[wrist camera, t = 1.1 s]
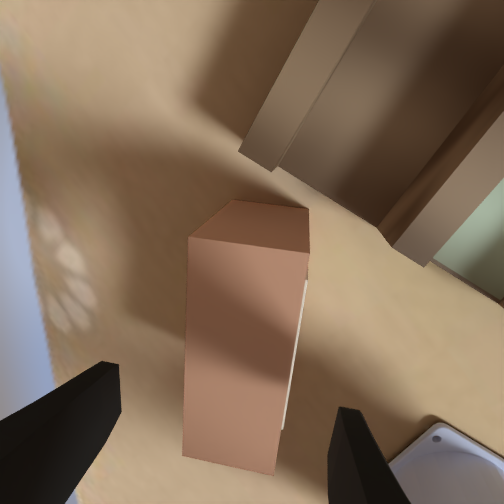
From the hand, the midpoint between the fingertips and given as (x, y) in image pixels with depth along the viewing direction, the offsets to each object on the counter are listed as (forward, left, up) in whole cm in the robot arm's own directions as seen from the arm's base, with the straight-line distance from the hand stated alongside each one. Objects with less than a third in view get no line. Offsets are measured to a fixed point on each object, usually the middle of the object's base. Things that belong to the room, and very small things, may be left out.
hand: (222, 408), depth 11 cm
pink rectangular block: (0, 0, -9) cm, 9 cm away
